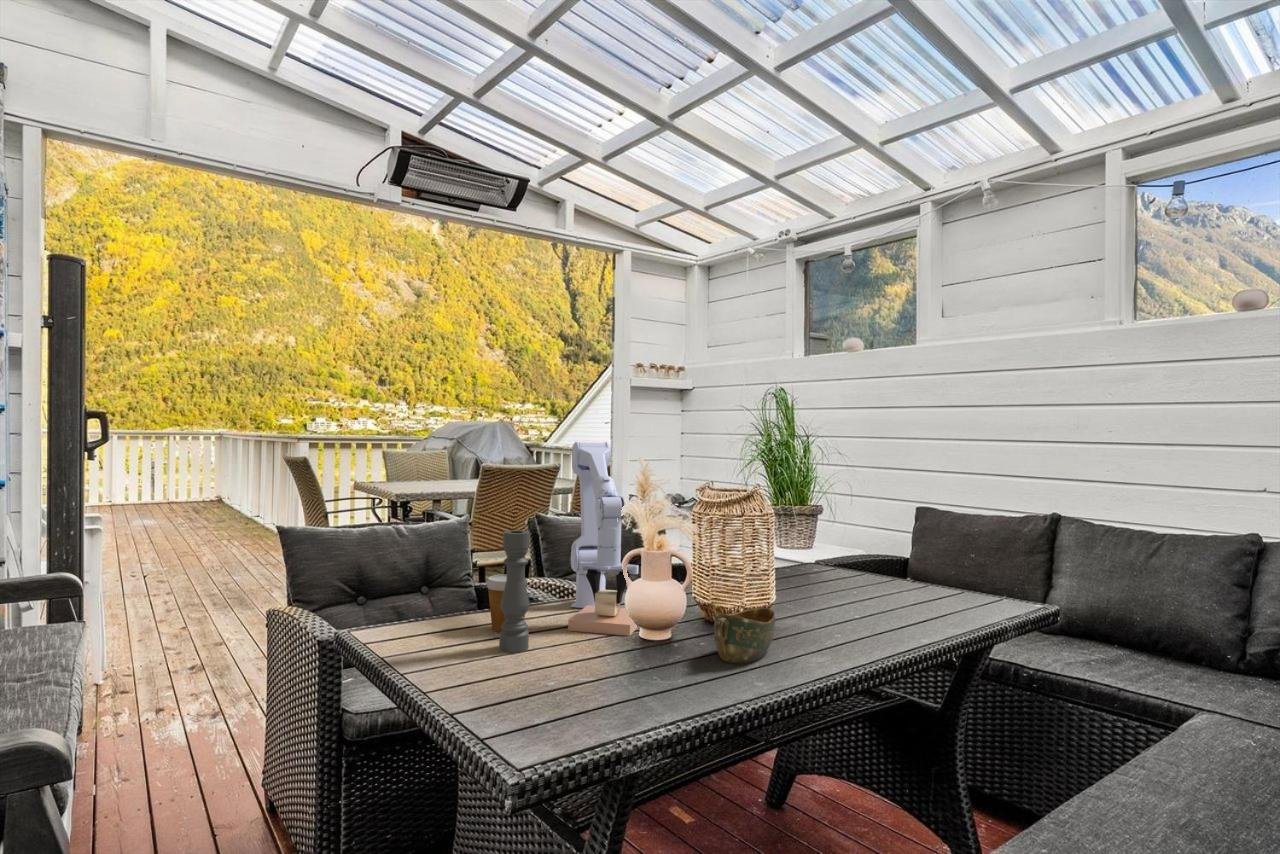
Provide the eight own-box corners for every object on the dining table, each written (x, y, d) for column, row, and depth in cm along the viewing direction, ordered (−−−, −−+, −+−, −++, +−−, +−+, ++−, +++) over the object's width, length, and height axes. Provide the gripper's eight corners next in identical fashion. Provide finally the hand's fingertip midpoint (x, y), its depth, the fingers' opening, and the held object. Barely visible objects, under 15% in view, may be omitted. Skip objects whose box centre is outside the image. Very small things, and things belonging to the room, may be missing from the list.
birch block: (600, 609, 180) (600, 589, 180) (619, 611, 179) (620, 590, 179) (594, 614, 176) (595, 593, 176) (614, 616, 174) (615, 595, 174)
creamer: (686, 651, 157) (687, 604, 157) (762, 642, 166) (764, 598, 166) (718, 670, 146) (720, 619, 146) (798, 659, 154) (800, 612, 154)
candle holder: (522, 653, 153) (525, 534, 154) (494, 651, 155) (497, 533, 155) (532, 645, 159) (535, 530, 160) (505, 643, 161) (508, 529, 161)
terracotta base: (586, 615, 187) (587, 605, 187) (644, 619, 183) (644, 609, 183) (568, 630, 172) (568, 619, 172) (629, 635, 169) (630, 624, 169)
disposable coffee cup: (522, 634, 168) (523, 582, 168) (480, 633, 168) (482, 581, 168) (529, 623, 177) (530, 574, 177) (490, 622, 177) (491, 573, 177)
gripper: (575, 546, 176) (574, 603, 175) (634, 550, 172) (632, 607, 172) (584, 542, 182) (583, 596, 182) (640, 545, 179) (639, 601, 179)
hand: (607, 601), depth 178 cm, fingers closed on birch block, 5 cm apart
